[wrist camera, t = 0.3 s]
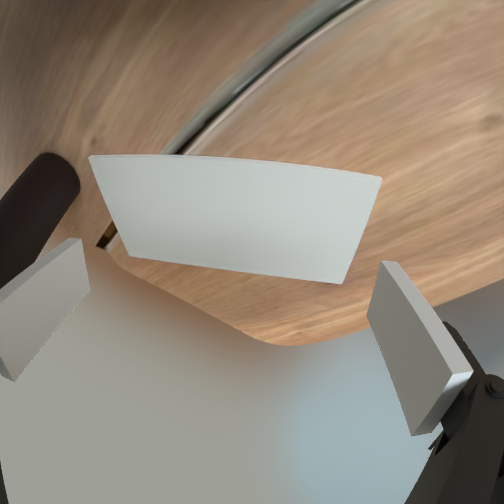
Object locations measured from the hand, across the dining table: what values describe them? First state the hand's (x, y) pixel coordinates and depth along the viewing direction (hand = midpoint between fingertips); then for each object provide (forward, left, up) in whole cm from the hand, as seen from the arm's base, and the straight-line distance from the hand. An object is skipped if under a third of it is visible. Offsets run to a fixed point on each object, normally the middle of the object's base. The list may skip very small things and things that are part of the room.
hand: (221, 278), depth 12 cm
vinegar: (+6, -22, -14) cm, 27 cm away
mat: (+11, -3, -13) cm, 18 cm away
